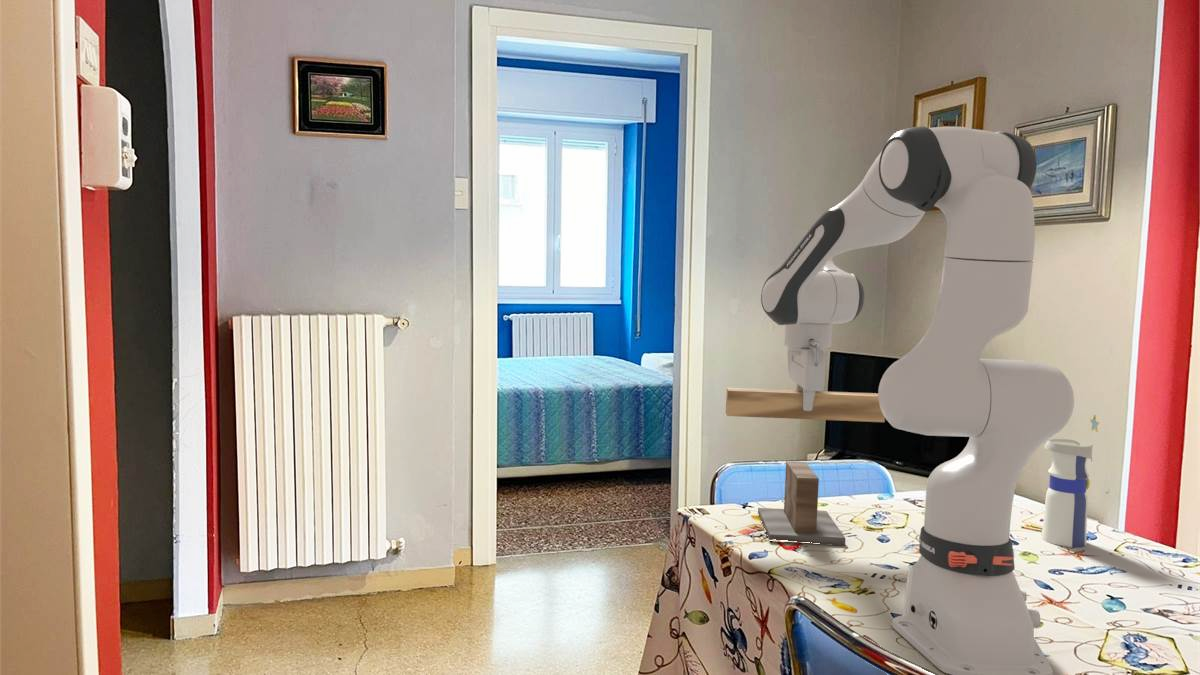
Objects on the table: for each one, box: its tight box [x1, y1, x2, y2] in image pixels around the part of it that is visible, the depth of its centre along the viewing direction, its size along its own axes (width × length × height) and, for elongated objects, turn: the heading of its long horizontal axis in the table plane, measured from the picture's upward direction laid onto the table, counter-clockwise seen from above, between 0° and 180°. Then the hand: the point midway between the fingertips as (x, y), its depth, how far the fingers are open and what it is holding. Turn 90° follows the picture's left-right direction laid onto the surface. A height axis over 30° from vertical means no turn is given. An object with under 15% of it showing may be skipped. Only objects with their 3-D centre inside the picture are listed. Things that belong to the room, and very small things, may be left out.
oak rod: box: [725, 387, 886, 423], centre depth 164 cm, size 4×30×5 cm, turn 85°
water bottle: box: [1041, 414, 1100, 548], centre depth 163 cm, size 8×9×25 cm
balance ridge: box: [757, 461, 846, 546], centre depth 166 cm, size 18×14×12 cm
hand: (804, 408), depth 164 cm, fingers closed on oak rod, 4 cm apart
